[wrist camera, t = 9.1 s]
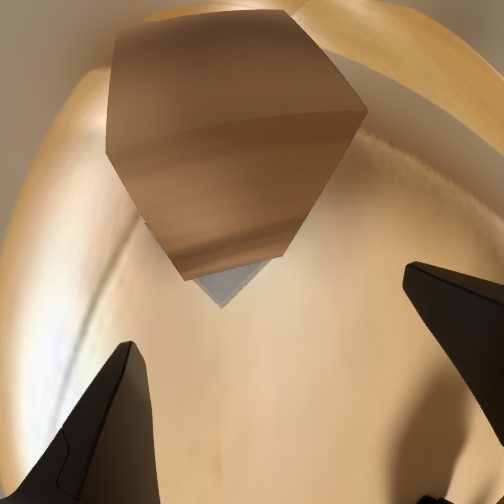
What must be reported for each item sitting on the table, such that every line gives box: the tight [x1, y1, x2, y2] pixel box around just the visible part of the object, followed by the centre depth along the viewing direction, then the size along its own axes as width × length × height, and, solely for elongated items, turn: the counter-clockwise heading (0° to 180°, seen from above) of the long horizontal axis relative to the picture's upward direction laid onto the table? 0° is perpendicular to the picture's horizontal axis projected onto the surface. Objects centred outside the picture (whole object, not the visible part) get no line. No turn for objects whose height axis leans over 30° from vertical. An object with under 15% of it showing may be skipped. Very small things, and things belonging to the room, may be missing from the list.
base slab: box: [145, 222, 271, 308], centre depth 19 cm, size 7×7×3 cm
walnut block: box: [106, 10, 368, 281], centre depth 12 cm, size 6×6×12 cm
